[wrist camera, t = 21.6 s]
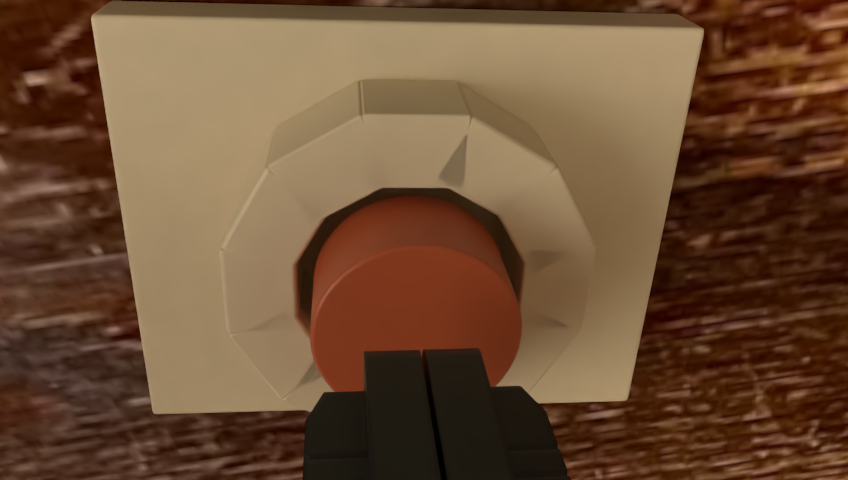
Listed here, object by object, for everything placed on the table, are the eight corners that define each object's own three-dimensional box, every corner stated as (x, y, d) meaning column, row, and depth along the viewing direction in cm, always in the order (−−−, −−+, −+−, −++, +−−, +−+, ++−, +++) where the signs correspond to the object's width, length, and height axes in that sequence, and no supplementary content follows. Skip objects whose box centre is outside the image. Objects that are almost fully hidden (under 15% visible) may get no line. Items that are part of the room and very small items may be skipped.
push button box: (163, 378, 17) (130, 482, 14) (108, -1, 13) (49, 43, 10) (611, 368, 18) (658, 462, 15) (680, 13, 14) (757, 56, 11)
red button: (316, 357, 14) (312, 425, 12) (311, 193, 12) (306, 246, 11) (494, 354, 14) (512, 419, 12) (511, 193, 13) (533, 244, 11)
